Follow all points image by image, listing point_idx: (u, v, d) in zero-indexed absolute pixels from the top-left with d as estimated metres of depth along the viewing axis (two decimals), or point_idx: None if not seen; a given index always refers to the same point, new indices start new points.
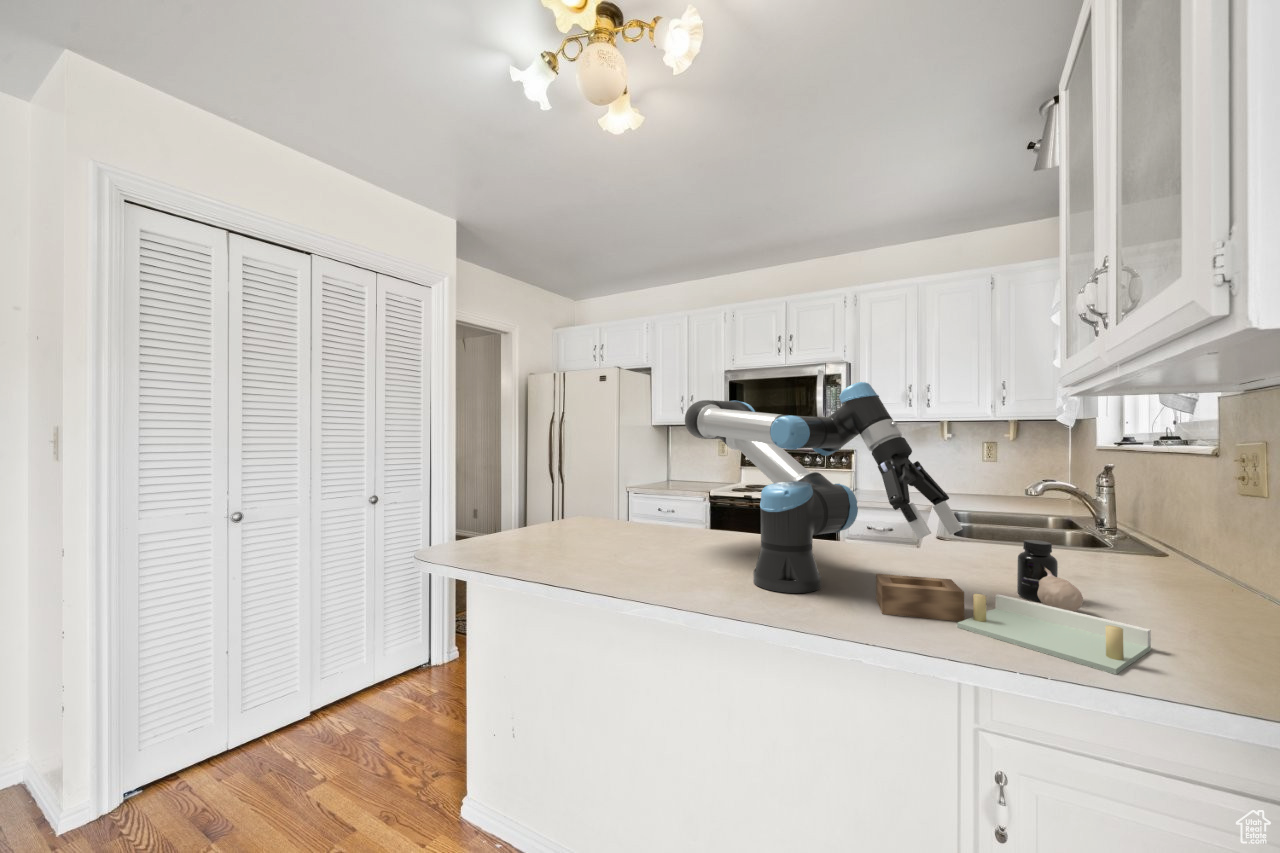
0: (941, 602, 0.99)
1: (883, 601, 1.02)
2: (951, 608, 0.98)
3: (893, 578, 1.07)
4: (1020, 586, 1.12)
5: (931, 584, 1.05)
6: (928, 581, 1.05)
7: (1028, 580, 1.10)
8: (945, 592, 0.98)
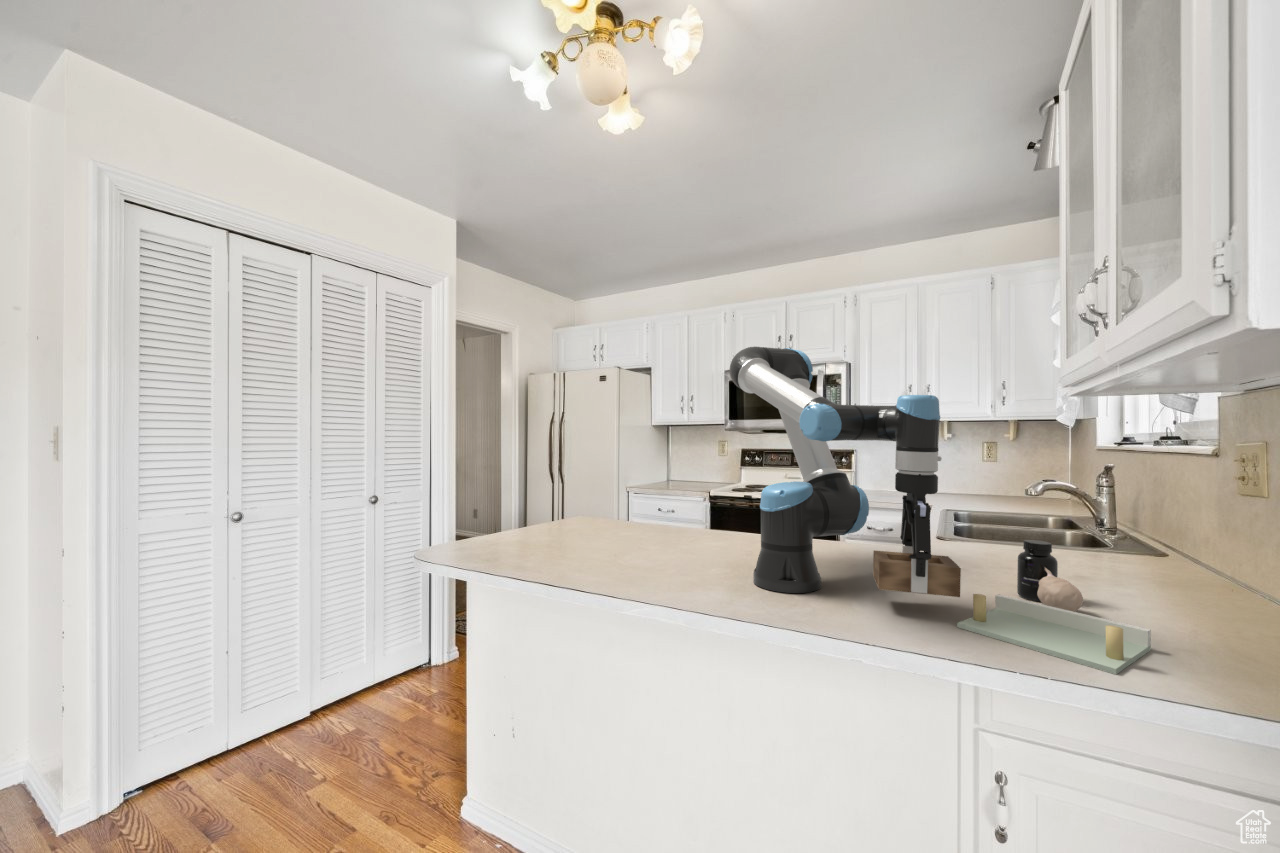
0: (938, 578, 0.99)
1: (880, 577, 1.02)
2: (947, 584, 0.99)
3: (890, 555, 1.08)
4: (1020, 586, 1.12)
5: (928, 561, 1.06)
6: None
7: (1028, 580, 1.10)
8: (942, 568, 0.99)
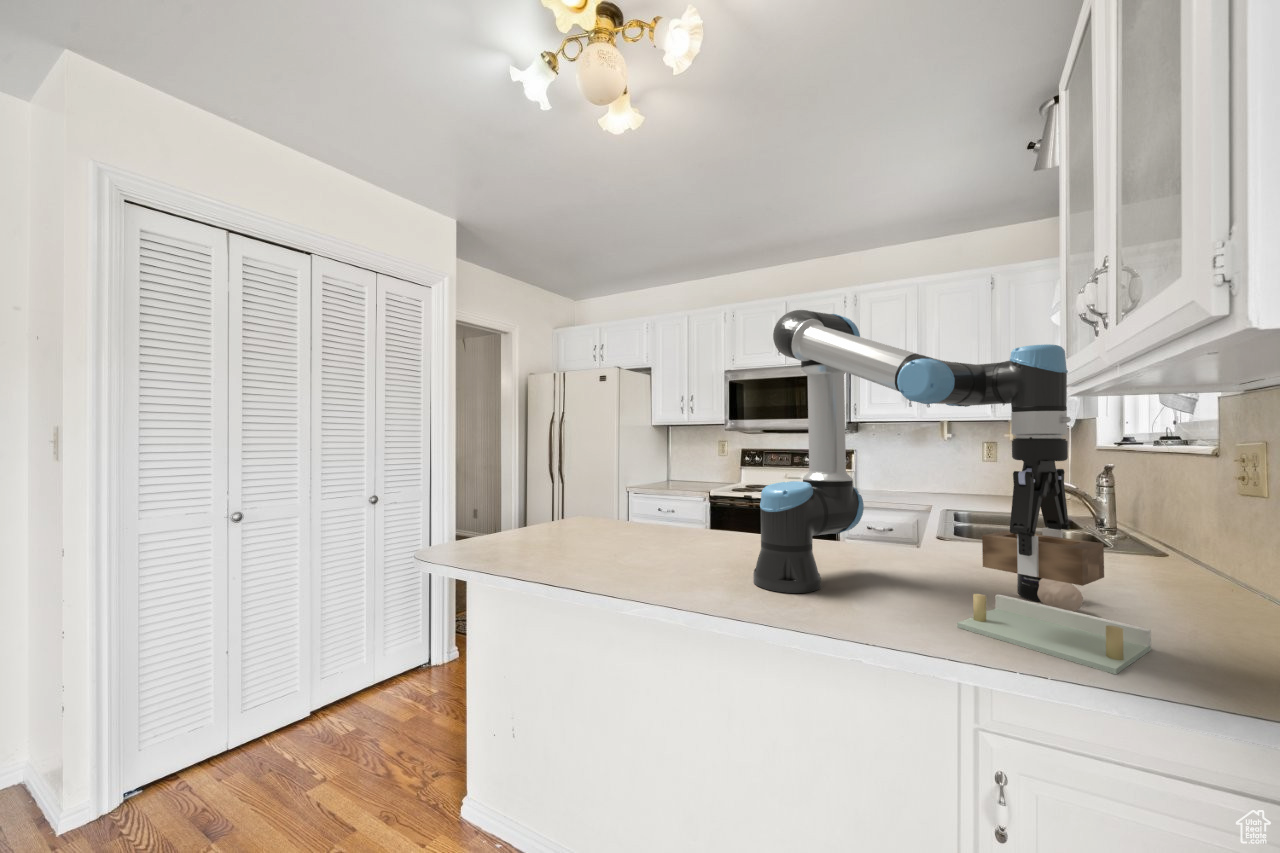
0: (1052, 560, 0.83)
1: (983, 553, 0.91)
2: (1065, 568, 0.81)
3: None
4: (1020, 586, 1.12)
5: (1067, 545, 0.87)
6: (1063, 541, 0.87)
7: (1028, 580, 1.10)
8: (1057, 549, 0.82)
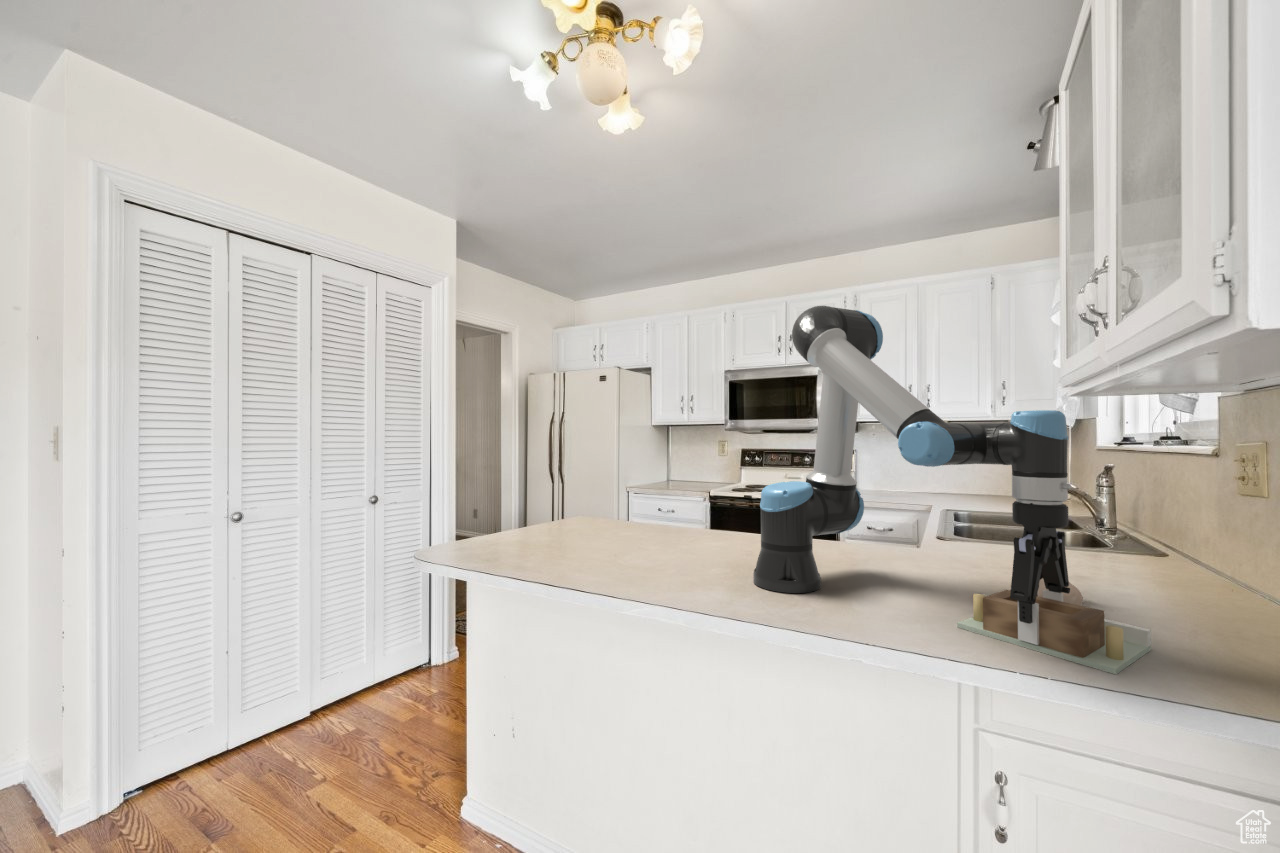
0: (1053, 629, 0.83)
1: (984, 615, 0.91)
2: (1066, 639, 0.81)
3: None
4: None
5: (1068, 611, 0.87)
6: (1064, 607, 0.87)
7: None
8: (1058, 618, 0.82)
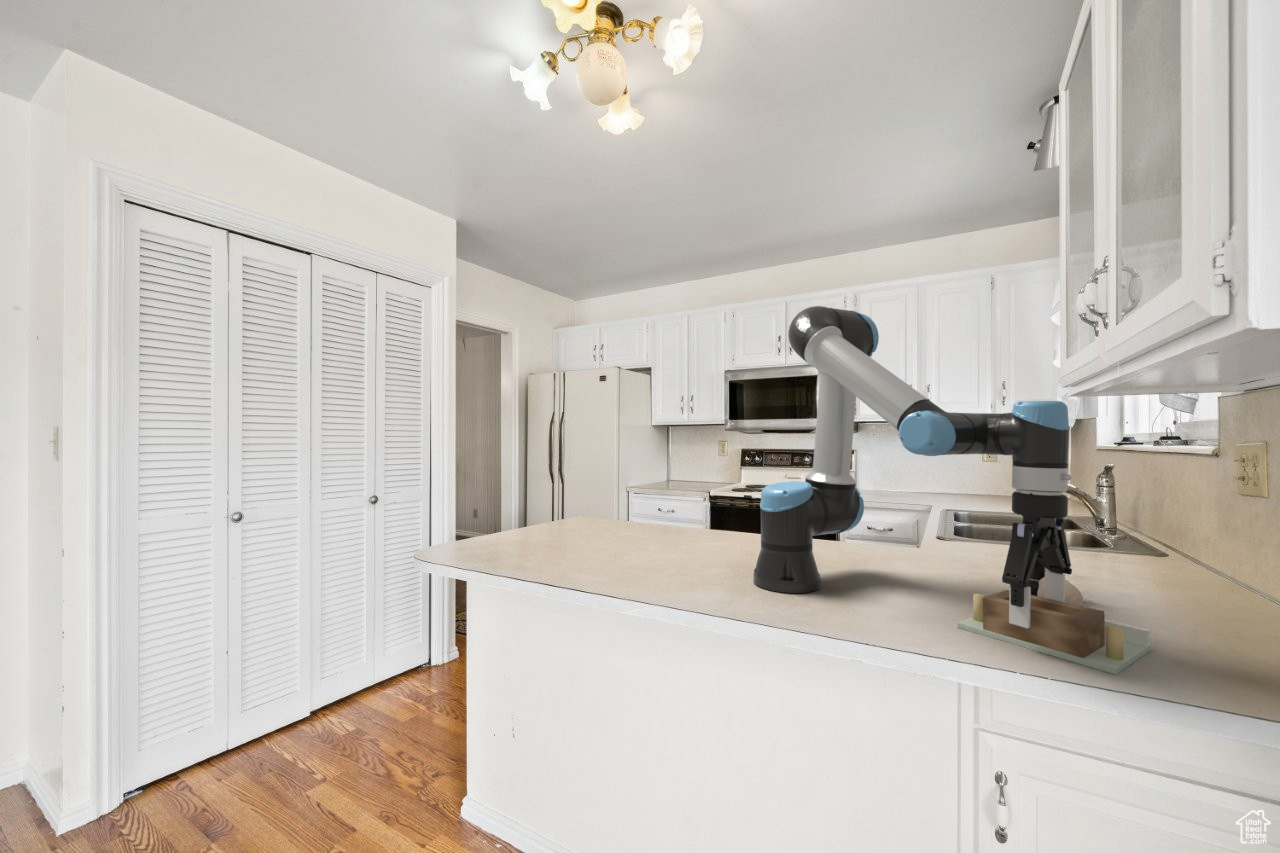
0: (1053, 629, 0.83)
1: (984, 615, 0.91)
2: (1066, 639, 0.81)
3: None
4: None
5: (1068, 611, 0.87)
6: (1064, 607, 0.87)
7: None
8: (1058, 619, 0.82)
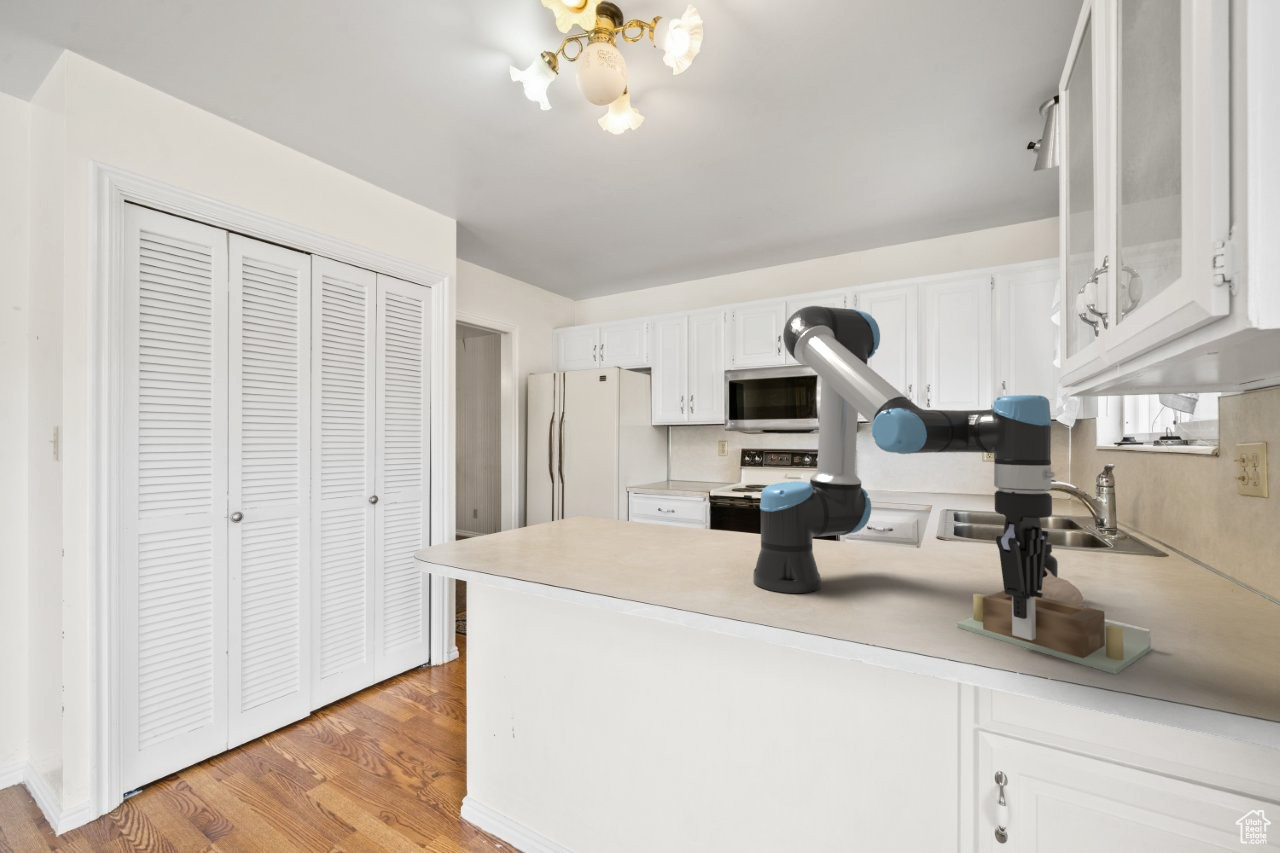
0: (1053, 629, 0.83)
1: (984, 615, 0.91)
2: (1066, 639, 0.81)
3: None
4: None
5: (1068, 611, 0.87)
6: (1064, 607, 0.87)
7: None
8: (1058, 618, 0.82)
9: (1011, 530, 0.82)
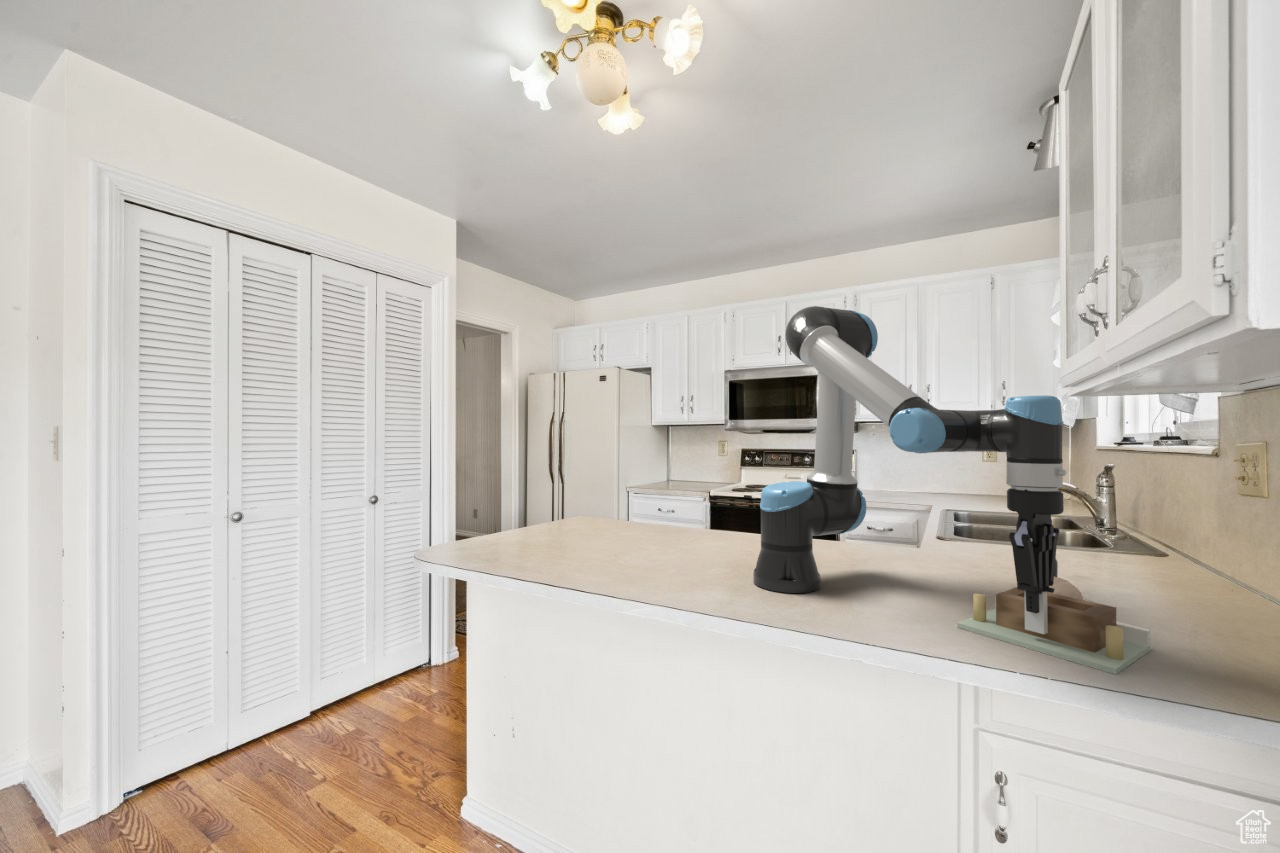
0: (1065, 624, 0.85)
1: (997, 611, 0.93)
2: (1078, 634, 0.83)
3: None
4: None
5: (1080, 607, 0.89)
6: (1076, 603, 0.89)
7: None
8: (1070, 614, 0.84)
9: (1024, 527, 0.85)
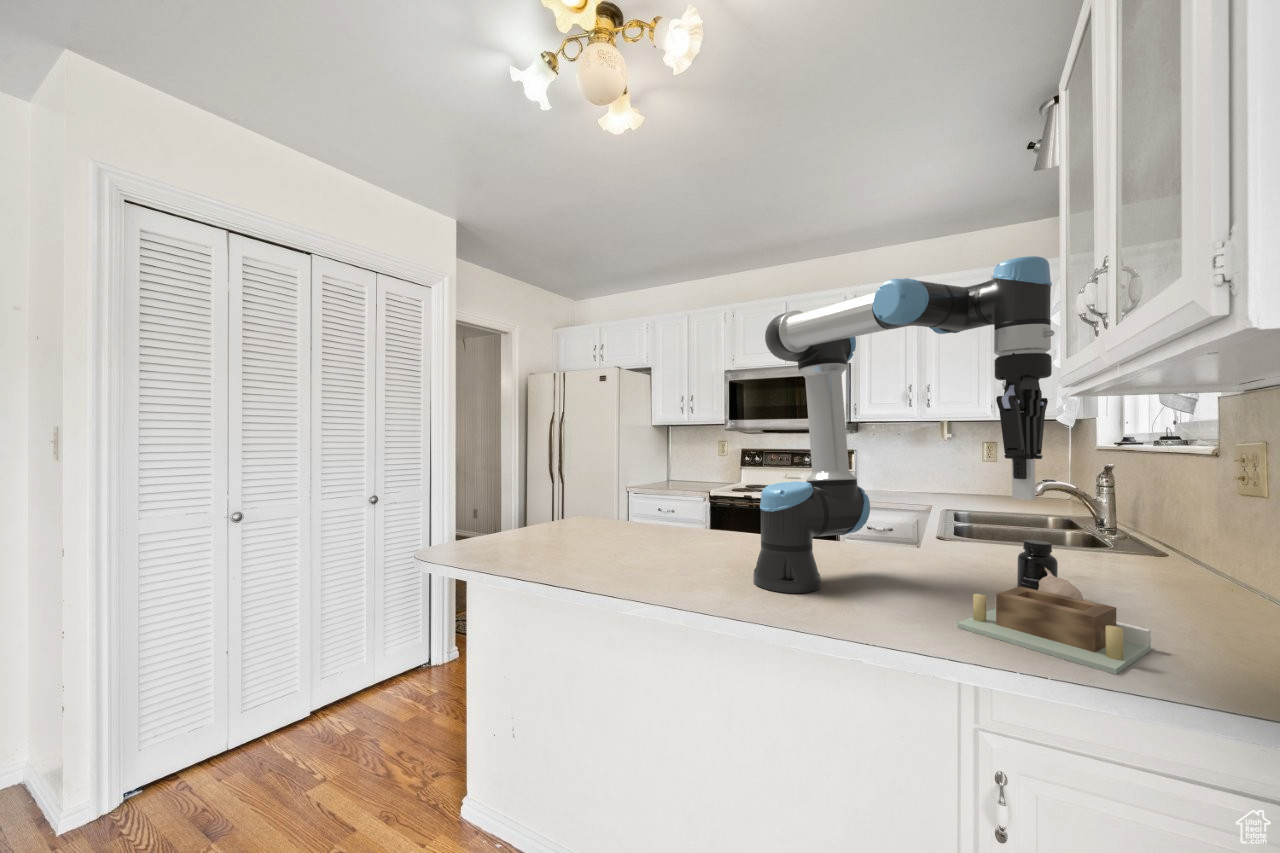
0: (1065, 624, 0.85)
1: (997, 611, 0.93)
2: (1078, 634, 0.83)
3: (1033, 593, 0.95)
4: (1020, 586, 1.12)
5: (1080, 607, 0.89)
6: (1076, 603, 0.89)
7: (1028, 580, 1.10)
8: (1070, 614, 0.84)
9: (1011, 390, 0.83)
